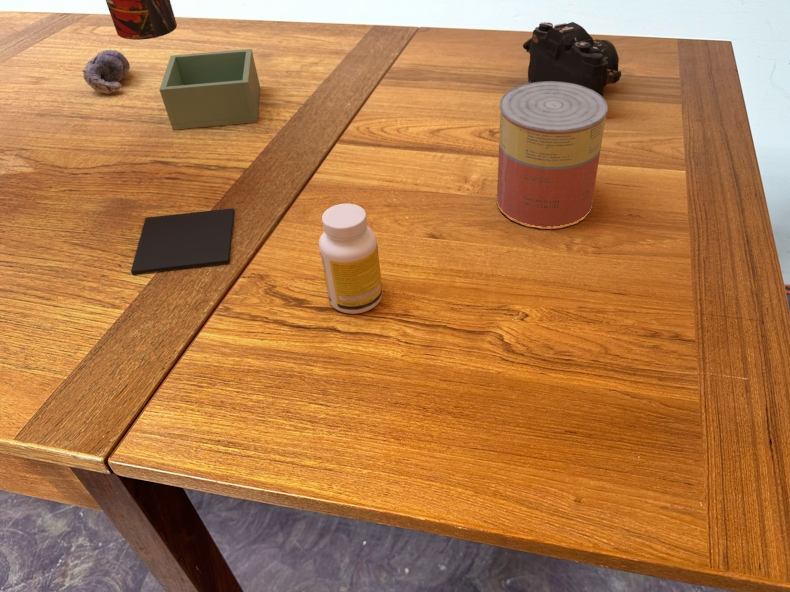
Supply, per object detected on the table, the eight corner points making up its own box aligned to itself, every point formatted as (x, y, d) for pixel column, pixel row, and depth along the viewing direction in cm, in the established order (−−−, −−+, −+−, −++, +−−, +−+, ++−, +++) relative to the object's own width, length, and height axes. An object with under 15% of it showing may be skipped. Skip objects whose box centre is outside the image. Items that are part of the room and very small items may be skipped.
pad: (132, 275, 70) (130, 271, 69) (146, 220, 77) (145, 217, 76) (229, 263, 71) (228, 260, 70) (234, 211, 78) (233, 207, 77)
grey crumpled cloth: (112, 105, 101) (125, 79, 108) (125, 75, 98) (137, 51, 106) (75, 86, 98) (90, 61, 105) (87, 55, 96) (102, 31, 103)
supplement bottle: (394, 297, 66) (386, 215, 60) (351, 323, 64) (337, 241, 57) (360, 273, 69) (348, 192, 62) (318, 297, 67) (301, 215, 60)
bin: (172, 130, 92) (159, 89, 88) (182, 94, 100) (170, 55, 96) (257, 122, 94) (247, 81, 89) (260, 87, 102) (251, 48, 98)
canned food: (608, 193, 79) (625, 96, 71) (564, 241, 73) (577, 140, 64) (525, 167, 84) (532, 73, 75) (477, 209, 77) (479, 111, 69)
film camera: (648, 97, 97) (662, 26, 90) (600, 127, 91) (611, 53, 84) (551, 64, 106) (557, -3, 99) (500, 89, 100) (503, 20, 93)
